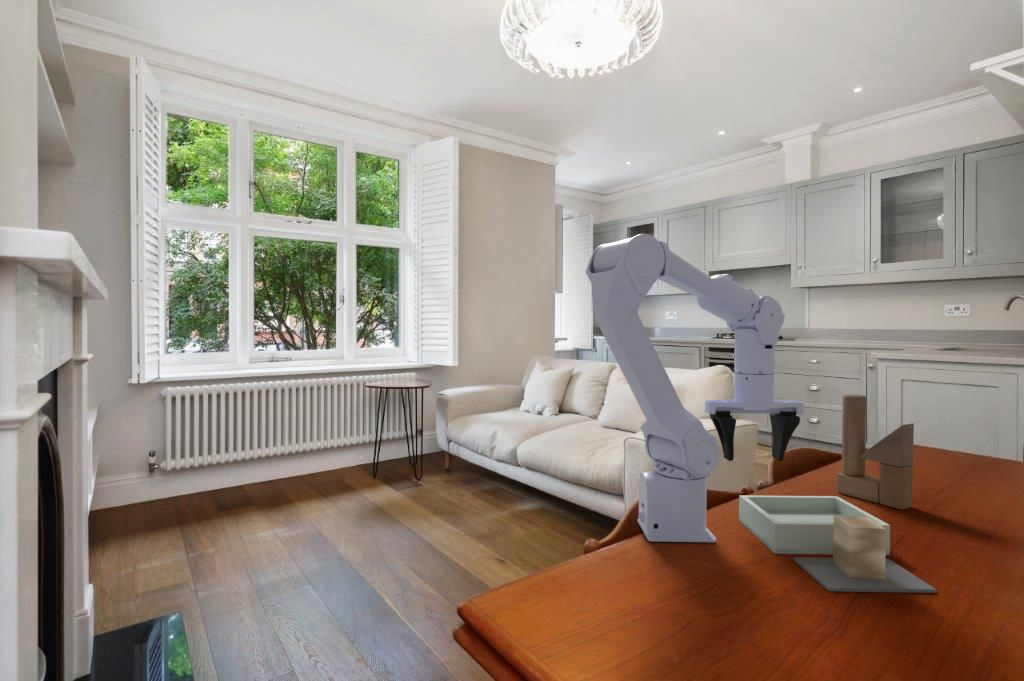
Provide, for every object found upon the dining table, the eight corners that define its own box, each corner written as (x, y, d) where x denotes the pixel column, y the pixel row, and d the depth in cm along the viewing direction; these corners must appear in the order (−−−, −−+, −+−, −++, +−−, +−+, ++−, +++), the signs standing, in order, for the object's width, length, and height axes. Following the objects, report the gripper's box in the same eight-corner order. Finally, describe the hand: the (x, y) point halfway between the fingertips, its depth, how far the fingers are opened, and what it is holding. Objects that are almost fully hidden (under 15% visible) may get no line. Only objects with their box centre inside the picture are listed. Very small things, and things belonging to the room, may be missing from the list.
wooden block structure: (901, 510, 87) (903, 401, 86) (835, 492, 96) (837, 394, 96) (913, 507, 89) (915, 400, 88) (847, 489, 98) (849, 393, 98)
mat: (828, 591, 60) (828, 587, 60) (793, 560, 68) (793, 557, 68) (936, 592, 60) (936, 589, 60) (888, 561, 68) (888, 558, 68)
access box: (774, 553, 70) (775, 523, 70) (738, 520, 82) (739, 495, 82) (889, 555, 70) (890, 525, 70) (836, 521, 82) (837, 496, 82)
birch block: (848, 577, 63) (849, 527, 63) (833, 562, 67) (833, 515, 67) (885, 579, 62) (886, 528, 62) (867, 564, 66) (867, 516, 66)
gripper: (788, 371, 87) (787, 453, 87) (699, 371, 87) (698, 452, 87) (811, 375, 80) (810, 464, 80) (714, 374, 80) (713, 463, 80)
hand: (753, 459), depth 83 cm, fingers open, 7 cm apart
